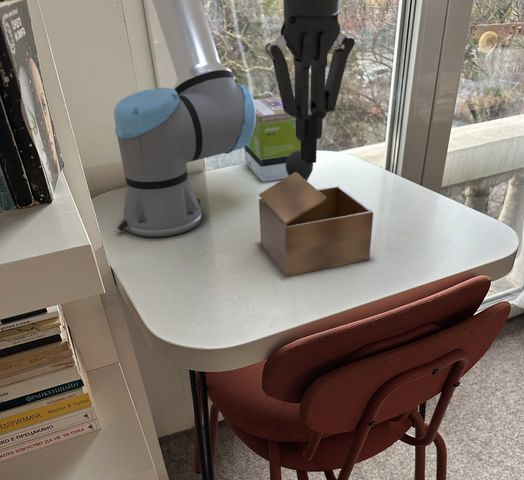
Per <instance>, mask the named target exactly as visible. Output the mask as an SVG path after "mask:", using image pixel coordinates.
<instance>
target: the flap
mask: <svg viewBox="0 0 524 480" xmlns="http://www.w3.org/2000/svg"><path fill="white" fill-rule="evenodd" d="M317 189H318V188H316V187H315V186H313V184H311V183H310V182H308V180H307V181H306V180H305V179H304V178H302V177H301V176H300V175H299V174H297V173H296V172H294V173H293V174H291V175H290V176H288V177H286V178H285V179H280V181H278V182H277V183H275V184H273V185H271V186H270V187H269V188H267V189H265V190H263V191H262V192H260V193H259V194H258V196H259V198H260V199H263V200H264V201H265V202H266V204H267V205H268V206H269V207H270V208H271V209H272V210H273V211H274V212H275V213H276V214H277V215H278V216H279V217H280V218H281V219H282V220H283V221H284V223H285V224H288V223H290V222H291V221H293V220H295V219H296V218H298V217H299V216H301V215H303V214H304V213H306V212H308V211H309V210H311V209H312V208H314V207H316V206H317V205H319V204H321V203H322V202H324V201H325V200H327V197H326V196H324V195H323V194H322V193H321V192H319V191H318V190H317Z"/></svg>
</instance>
